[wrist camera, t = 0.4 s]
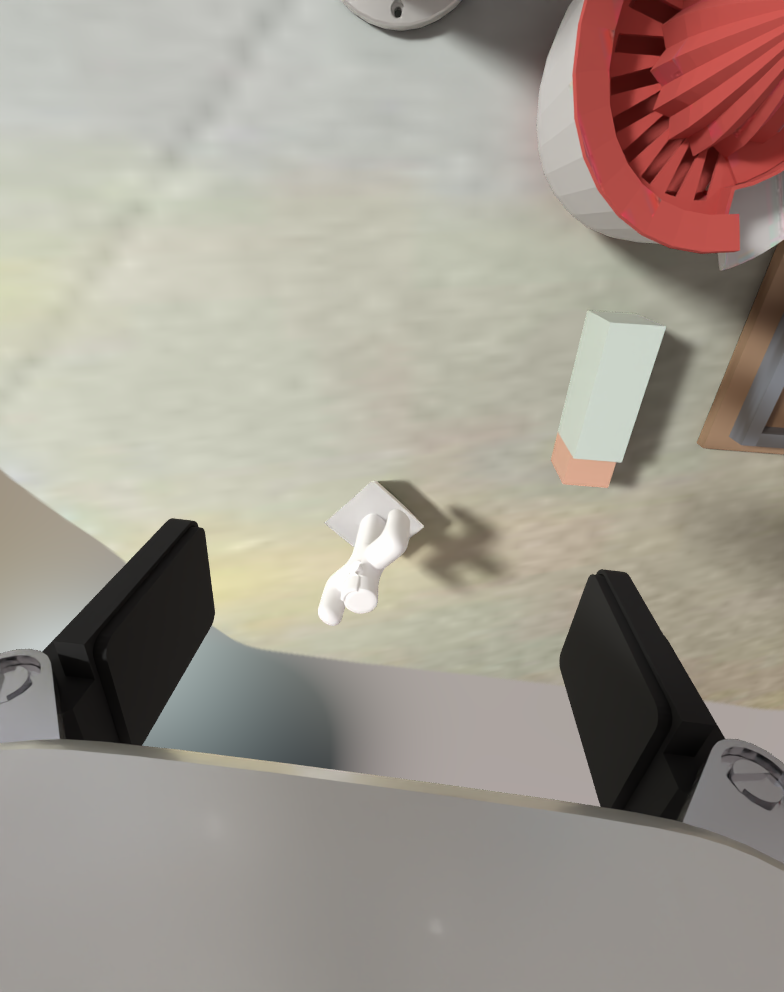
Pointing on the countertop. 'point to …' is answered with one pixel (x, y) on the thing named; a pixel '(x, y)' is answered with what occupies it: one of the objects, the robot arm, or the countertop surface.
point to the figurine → (366, 549)
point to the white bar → (604, 395)
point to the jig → (754, 377)
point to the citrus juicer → (669, 122)
